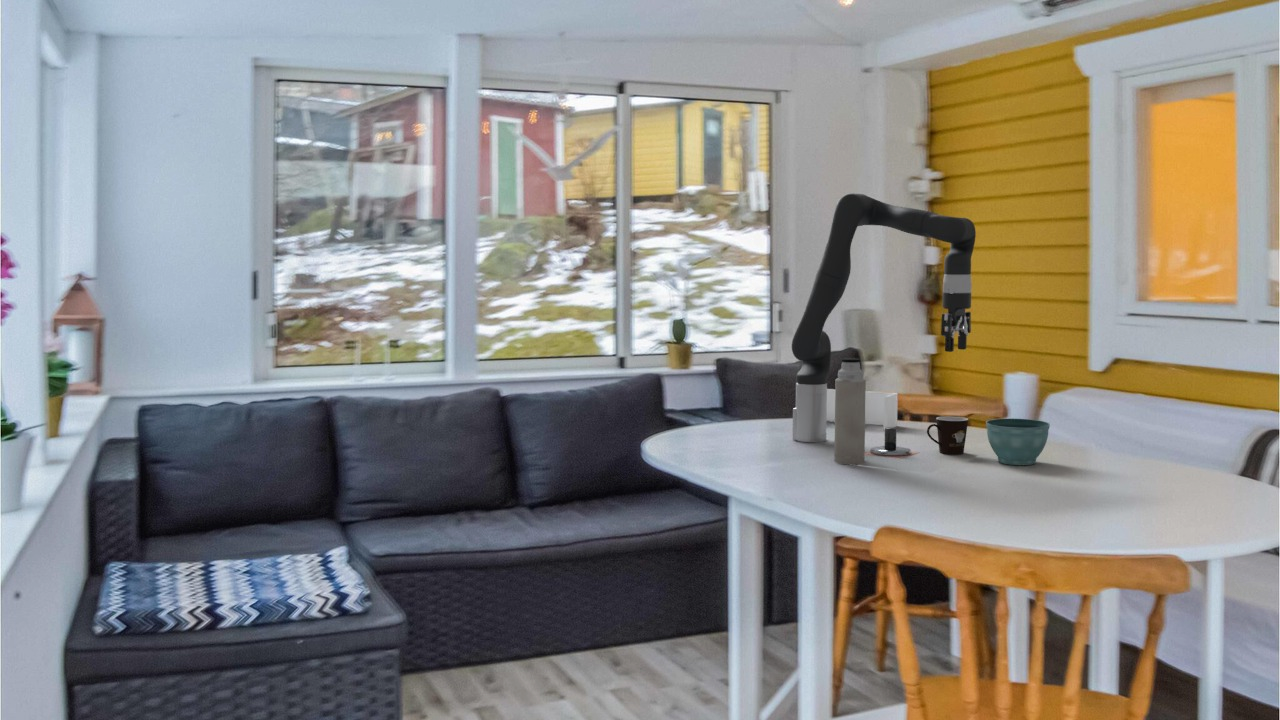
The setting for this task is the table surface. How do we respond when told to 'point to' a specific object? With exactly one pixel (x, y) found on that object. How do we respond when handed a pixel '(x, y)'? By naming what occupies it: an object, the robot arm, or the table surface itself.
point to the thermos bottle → (850, 413)
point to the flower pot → (1017, 439)
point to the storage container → (871, 408)
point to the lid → (890, 445)
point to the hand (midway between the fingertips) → (955, 350)
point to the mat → (892, 457)
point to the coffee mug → (950, 434)
